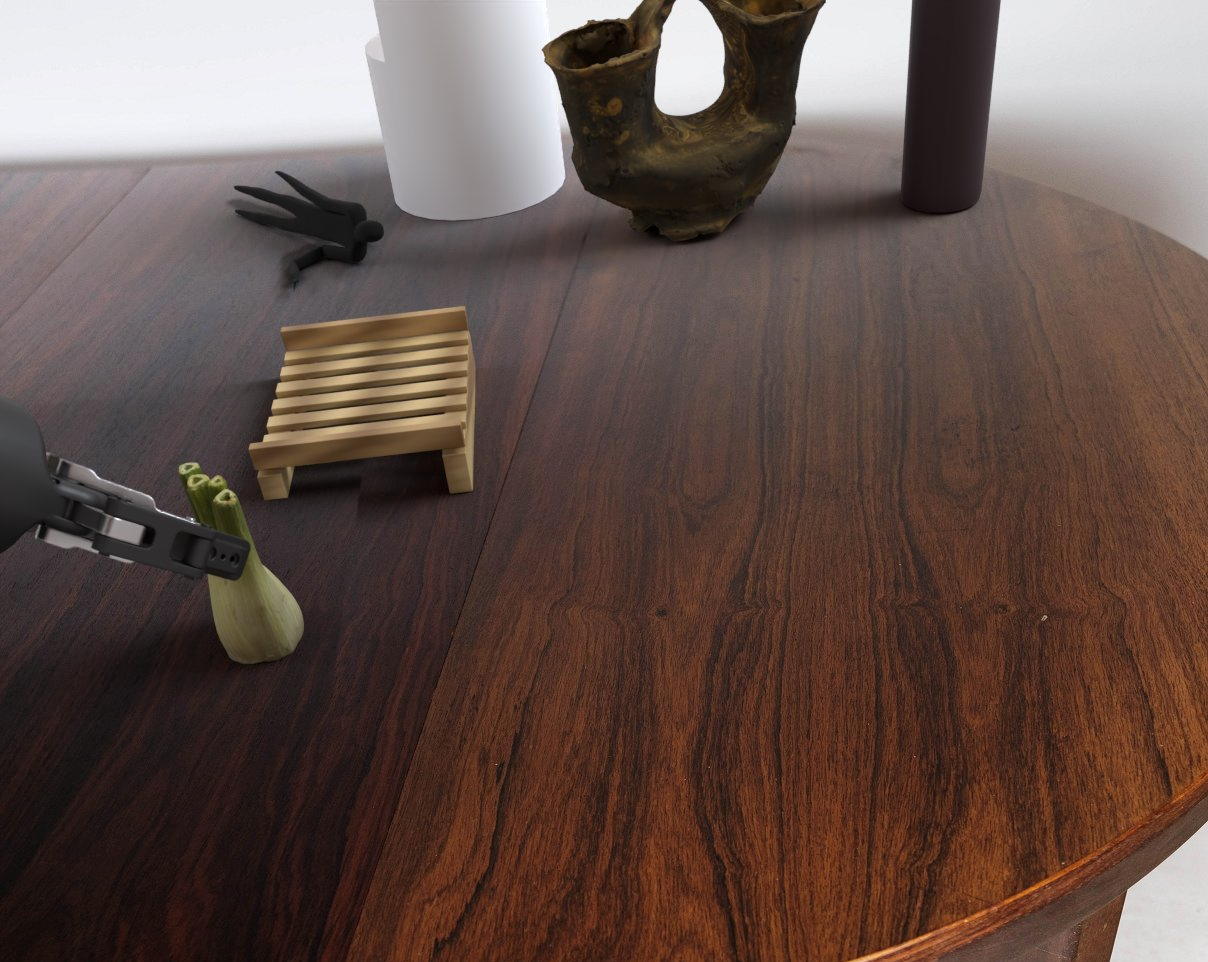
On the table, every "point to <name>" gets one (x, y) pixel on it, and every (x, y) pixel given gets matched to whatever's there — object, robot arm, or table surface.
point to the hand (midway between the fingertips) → (187, 538)
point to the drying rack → (372, 396)
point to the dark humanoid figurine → (317, 223)
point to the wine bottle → (948, 102)
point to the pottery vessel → (689, 142)
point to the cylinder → (466, 105)
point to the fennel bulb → (243, 581)
